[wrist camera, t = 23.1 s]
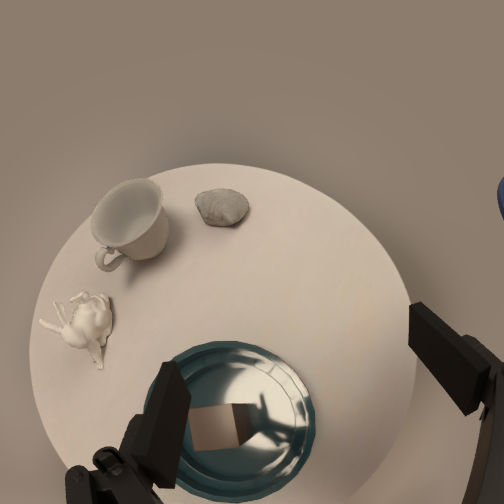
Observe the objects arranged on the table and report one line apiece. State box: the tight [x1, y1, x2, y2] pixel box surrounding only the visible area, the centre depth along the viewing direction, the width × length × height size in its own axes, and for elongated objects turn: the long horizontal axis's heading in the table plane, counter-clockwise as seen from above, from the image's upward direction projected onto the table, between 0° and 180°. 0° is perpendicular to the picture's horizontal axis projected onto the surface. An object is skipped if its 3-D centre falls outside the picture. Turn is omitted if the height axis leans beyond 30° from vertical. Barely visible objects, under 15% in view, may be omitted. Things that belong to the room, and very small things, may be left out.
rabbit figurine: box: [39, 291, 112, 370], centre depth 38 cm, size 12×8×10 cm, turn 170°
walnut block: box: [188, 403, 254, 451], centre depth 29 cm, size 4×4×10 cm
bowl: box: [143, 341, 315, 503], centre depth 31 cm, size 20×20×6 cm
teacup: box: [91, 178, 169, 272], centre depth 44 cm, size 12×15×10 cm
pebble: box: [195, 189, 249, 226], centre depth 47 cm, size 9×8×5 cm
